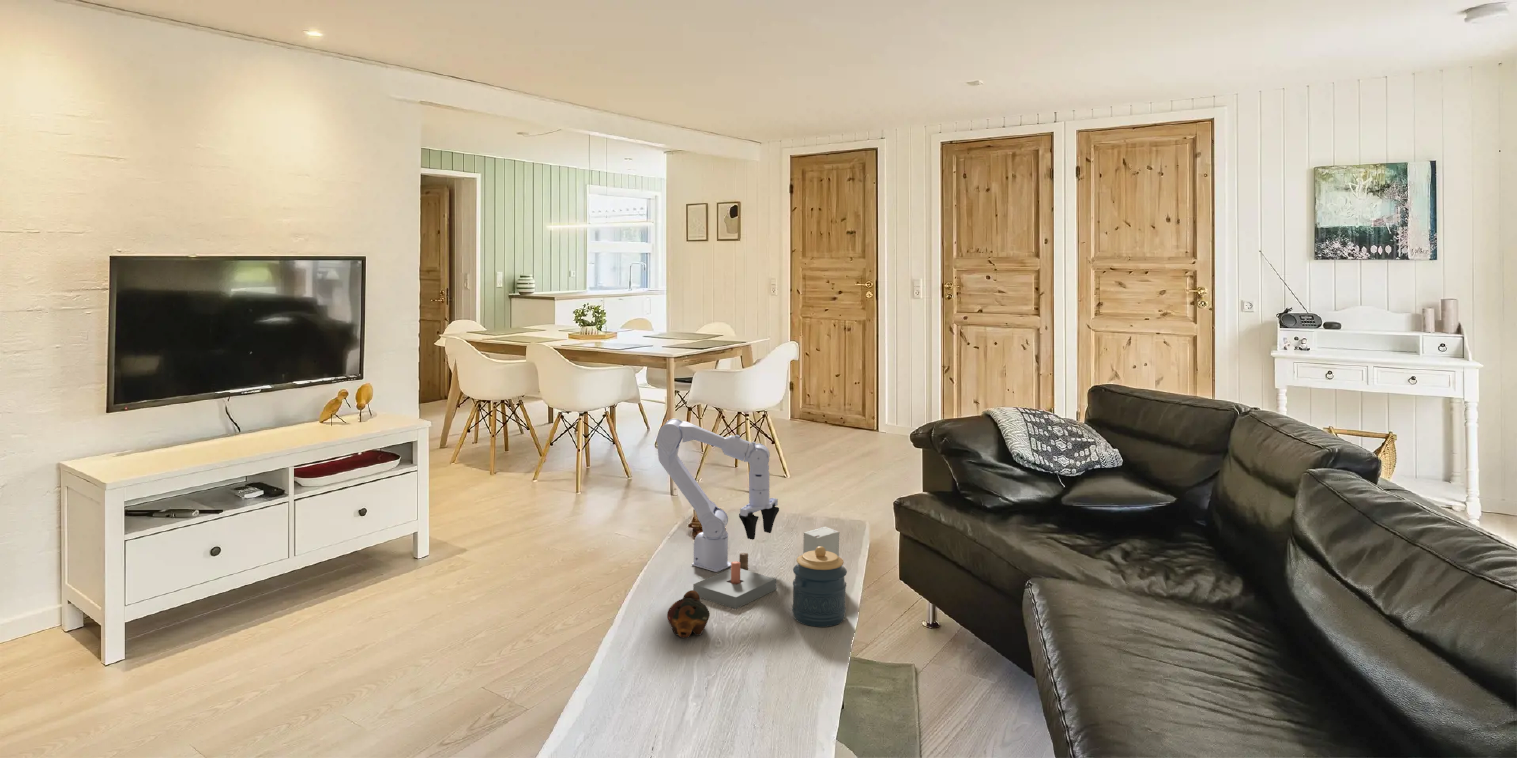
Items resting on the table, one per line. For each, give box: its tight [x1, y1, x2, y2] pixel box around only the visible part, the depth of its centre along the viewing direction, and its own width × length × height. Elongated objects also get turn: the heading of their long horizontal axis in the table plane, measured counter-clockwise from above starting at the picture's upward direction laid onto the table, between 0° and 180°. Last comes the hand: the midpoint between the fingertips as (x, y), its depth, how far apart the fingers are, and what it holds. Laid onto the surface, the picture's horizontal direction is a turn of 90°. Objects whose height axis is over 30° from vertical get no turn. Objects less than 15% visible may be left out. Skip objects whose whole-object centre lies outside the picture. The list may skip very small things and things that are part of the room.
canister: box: [791, 546, 848, 628], centre depth 204 cm, size 13×13×18 cm
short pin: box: [738, 552, 749, 571], centre depth 237 cm, size 2×2×4 cm
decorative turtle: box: [666, 590, 710, 639], centre depth 195 cm, size 10×15×8 cm, turn 2°
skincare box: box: [802, 526, 840, 557], centre depth 226 cm, size 8×6×15 cm
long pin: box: [730, 561, 740, 585], centre depth 220 cm, size 2×2×8 cm
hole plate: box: [692, 568, 777, 610], centre depth 220 cm, size 14×17×3 cm
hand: (759, 535), depth 238 cm, fingers open, 7 cm apart
